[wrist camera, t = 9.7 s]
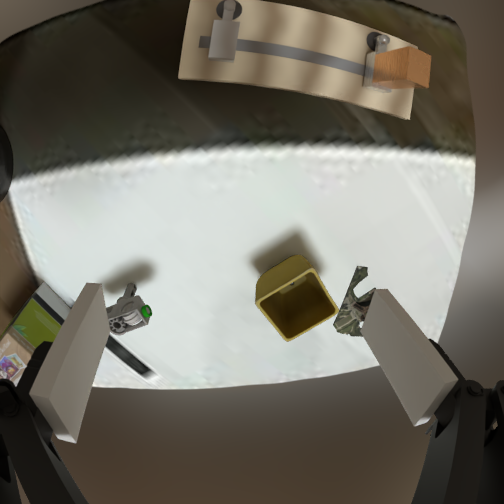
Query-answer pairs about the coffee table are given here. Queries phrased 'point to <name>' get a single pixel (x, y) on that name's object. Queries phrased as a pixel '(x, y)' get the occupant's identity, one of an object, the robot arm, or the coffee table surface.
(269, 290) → the flower pot
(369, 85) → the slide leg
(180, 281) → the coffee table surface
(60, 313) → the tea box
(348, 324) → the eiffel tower figurine
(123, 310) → the mechanical component
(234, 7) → the gauge board
